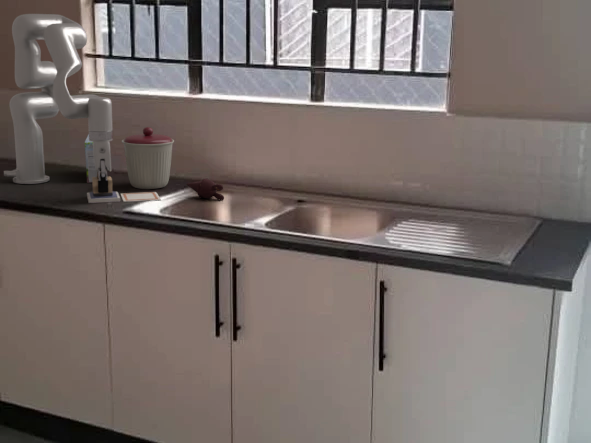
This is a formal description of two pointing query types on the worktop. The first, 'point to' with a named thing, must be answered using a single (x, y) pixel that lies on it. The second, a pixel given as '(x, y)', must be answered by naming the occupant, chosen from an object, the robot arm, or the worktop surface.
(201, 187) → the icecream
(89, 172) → the snack box
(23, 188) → the worktop surface
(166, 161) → the canister
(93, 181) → the stamp
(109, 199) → the ink pad
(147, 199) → the marked card
